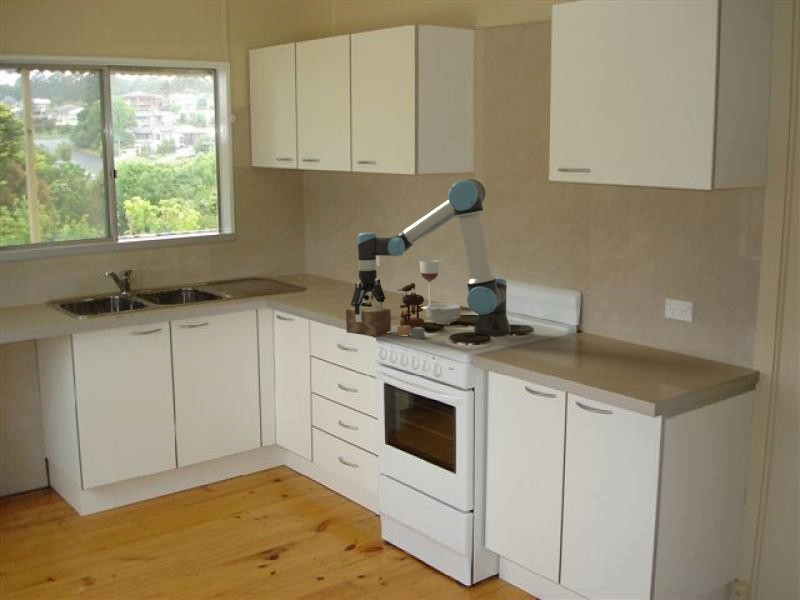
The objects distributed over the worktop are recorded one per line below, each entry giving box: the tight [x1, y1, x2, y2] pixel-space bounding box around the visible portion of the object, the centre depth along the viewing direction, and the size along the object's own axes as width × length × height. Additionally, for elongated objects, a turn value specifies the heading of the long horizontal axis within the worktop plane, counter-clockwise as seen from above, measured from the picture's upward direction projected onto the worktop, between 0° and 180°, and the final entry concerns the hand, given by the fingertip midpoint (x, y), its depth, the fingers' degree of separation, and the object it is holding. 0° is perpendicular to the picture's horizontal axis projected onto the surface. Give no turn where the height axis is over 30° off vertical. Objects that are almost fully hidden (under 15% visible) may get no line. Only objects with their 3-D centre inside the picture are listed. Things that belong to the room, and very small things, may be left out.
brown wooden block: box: [345, 305, 392, 337], centre depth 388 cm, size 16×10×10 cm, turn 53°
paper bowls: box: [425, 302, 462, 325], centre depth 408 cm, size 15×15×8 cm
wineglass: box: [419, 259, 440, 310], centre depth 449 cm, size 9×10×23 cm
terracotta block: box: [396, 325, 411, 336], centre depth 381 cm, size 4×4×4 cm
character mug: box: [360, 291, 375, 307], centre depth 428 cm, size 11×7×13 cm, turn 125°
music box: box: [397, 282, 425, 327], centre depth 398 cm, size 15×11×20 cm
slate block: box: [410, 327, 426, 340], centre depth 377 cm, size 4×4×4 cm
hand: (369, 319), depth 388 cm, fingers open, 13 cm apart
